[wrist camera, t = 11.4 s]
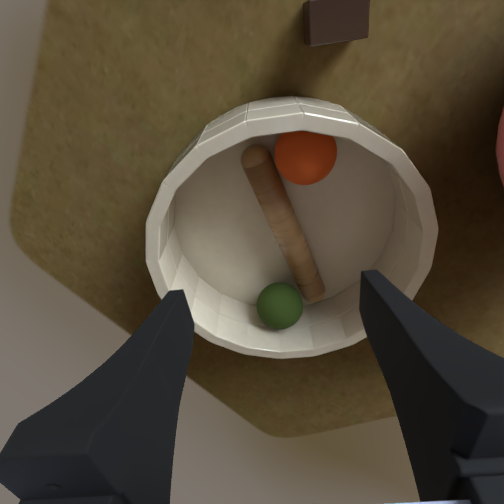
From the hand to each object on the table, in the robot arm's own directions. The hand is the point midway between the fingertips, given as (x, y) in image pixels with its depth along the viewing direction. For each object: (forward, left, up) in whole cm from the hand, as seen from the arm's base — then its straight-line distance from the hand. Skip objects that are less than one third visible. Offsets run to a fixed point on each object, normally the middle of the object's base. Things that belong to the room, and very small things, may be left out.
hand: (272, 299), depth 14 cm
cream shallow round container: (+1, -1, -8) cm, 8 cm away
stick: (0, -1, -7) cm, 7 cm away
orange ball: (+2, +4, -6) cm, 7 cm away
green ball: (0, -6, -6) cm, 8 cm away
